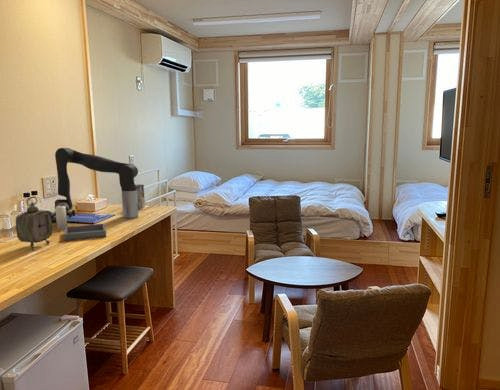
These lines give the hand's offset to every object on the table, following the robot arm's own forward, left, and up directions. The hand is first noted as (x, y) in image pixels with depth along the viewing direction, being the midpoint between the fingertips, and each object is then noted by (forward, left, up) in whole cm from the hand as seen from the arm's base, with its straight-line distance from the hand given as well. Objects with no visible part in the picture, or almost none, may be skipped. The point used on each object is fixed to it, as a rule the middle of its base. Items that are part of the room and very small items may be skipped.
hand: (61, 216), depth 230 cm
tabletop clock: (+11, +30, -7) cm, 33 cm away
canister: (0, +1, -7) cm, 7 cm away
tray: (-12, +17, -7) cm, 22 cm away
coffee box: (-47, -37, -7) cm, 60 cm away
